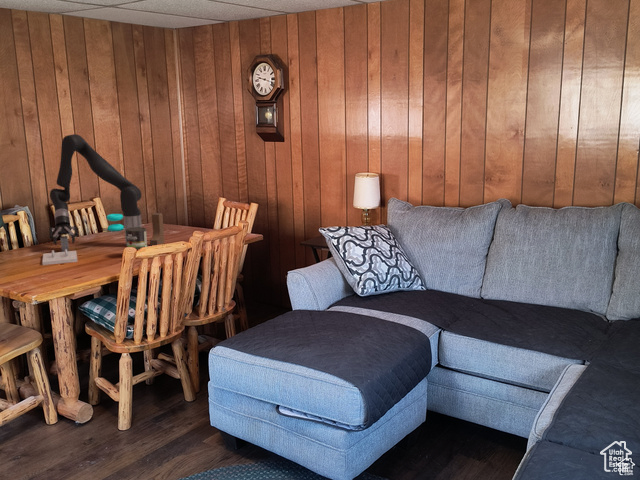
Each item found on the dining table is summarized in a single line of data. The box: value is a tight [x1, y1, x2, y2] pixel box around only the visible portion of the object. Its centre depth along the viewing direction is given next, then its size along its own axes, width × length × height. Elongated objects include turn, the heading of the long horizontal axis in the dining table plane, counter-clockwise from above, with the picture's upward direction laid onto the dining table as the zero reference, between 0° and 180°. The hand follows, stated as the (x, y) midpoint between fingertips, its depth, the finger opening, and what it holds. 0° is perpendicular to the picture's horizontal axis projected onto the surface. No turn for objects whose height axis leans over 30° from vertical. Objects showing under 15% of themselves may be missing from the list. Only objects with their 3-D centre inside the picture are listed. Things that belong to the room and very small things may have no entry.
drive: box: [59, 235, 70, 252], centre depth 324 cm, size 5×4×8 cm
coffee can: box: [126, 227, 148, 250], centre depth 313 cm, size 10×10×14 cm
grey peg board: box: [42, 249, 78, 266], centre depth 308 cm, size 20×16×4 cm
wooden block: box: [149, 212, 165, 247], centre depth 333 cm, size 9×4×18 cm, turn 169°
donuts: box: [106, 213, 125, 232], centre depth 382 cm, size 10×10×10 cm
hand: (64, 243), depth 323 cm, fingers open, 8 cm apart
